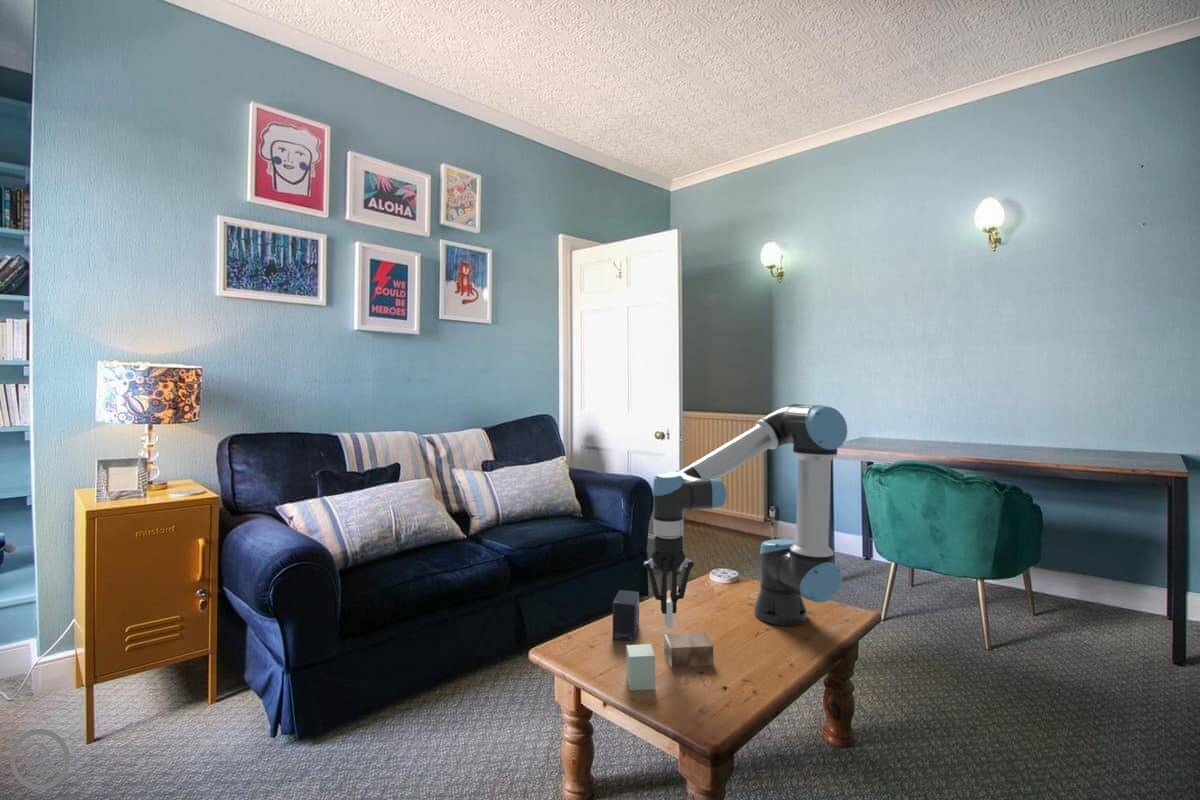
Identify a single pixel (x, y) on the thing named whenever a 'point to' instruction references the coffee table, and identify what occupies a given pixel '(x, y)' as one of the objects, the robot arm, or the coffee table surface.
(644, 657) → the sage block
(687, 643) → the walnut block
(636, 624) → the small box
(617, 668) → the coffee table surface
